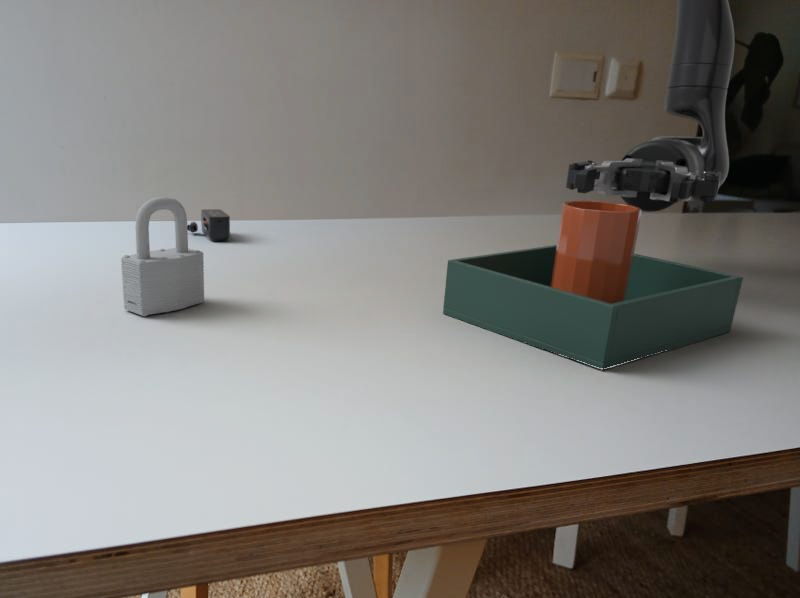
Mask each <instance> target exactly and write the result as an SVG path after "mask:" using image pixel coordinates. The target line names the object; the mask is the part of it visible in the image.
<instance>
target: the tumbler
mask: <svg viewBox="0 0 800 598" xmlns="http://www.w3.org/2000/svg"><path fill="white" fill-rule="evenodd" d="M642 212H643V211H642V209H640V208H639V207H635V206H631V205H628V204H627V203H620V202H611V201H603V200H602V201H600V200H599V201H598V200H569V201H568V200H567V201H565V202H562V207H561V214H560V221H559V228H558V235H557V241H556V245H557V247H556V254H555V261H554V268H553V275H552V282H551V287H553V288H556V289H560V290H564V291H567V292H571V293H574V294H578V295H582V296H585V297H589V298H592V299H596V300H599V301H603V302H607V303H610V304H613V303H618V302H622V301H625V300H626V294H627V289H628V283H629V278H630V272H631V267H632V261H633V256H634V254H635V250H636V244H637V240H638V233H639V228H640V223H641V217H642Z"/></svg>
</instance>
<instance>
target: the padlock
mask: <svg viewBox="0 0 800 598" xmlns="http://www.w3.org/2000/svg"><path fill="white" fill-rule="evenodd" d="M162 210H166V211H170V212H171V213H172V216H173V220H174V233H175V234H174V238H175V239H174V241H175V247H174V248H173V247H172V248H165V249H164V248H160V249H155V250H151V249H150V220H151V217H152V215H153V214H154V213H155V212H158V211H162ZM187 226H188V217H187V212H186V209H185V208H184V205H183V204H182V202H180V201H178V200H177V199H175V198H173V197H168V196H157V197H153V198H151V199H149V200H147V201H145V202H144V203H143V204H142V205H141V206H140V207H139V209H138V210H137V213H136V216H135V228H134V229H135V246H136V253H134V254H129V255H128V254H126V255H124V256H122V257H121V259H120V263H121V265H120V266H121V277H122V278H121V280H122V295H123V309H124V310H126V311H128V312H132V313H134V314H136V315H140V316H142V317H147V316H148V315H154V314H155V315H156V314H163V313H169V312H174V311H178V310H183V309H186V308H188V307H191V306H194V305H198V304H199V305H201V304H202V303H204V302H205V272H204V271H205V270H204V268H205V267H204V266H205V265H204V262H205V261H204V252H203V251H201V250H199V249H197V250H196V249H193V248H190V247H189V235H188V233H189V231H188V230H187Z"/></svg>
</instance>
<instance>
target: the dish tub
mask: <svg viewBox="0 0 800 598" xmlns="http://www.w3.org/2000/svg"><path fill="white" fill-rule="evenodd" d="M556 247H557V244H552V245H546V246H545V245H544V246H538V247H533V248H532V247H531V248H524V249H517V250H512V251H511V250H509V251H504V252H497V253H490V254H483V255H482V254H481V255H475V256H474V255H473V256H467V257H461V258H453V259H447V267H446V277H445V278H446V279H445V287H444V299H443V310H442V314H443V315H446V316H449V317H452V318H455V319H457V320H460V321H462V320H463V322H466V323H468V324H471V325H474V326H476V325H477V326H476V327H480V328H483V329H485V330H487V329H488V330H489V331H490V332H493V333H496V334H499V335H501V334H502V336H504V335H505V336H504V337H507V336H508V337H507V338H509V339H512V338H513V339H512V340H515V339H516V340H515V341H518V340H519V341H518V342H521V341H523V342H522V343H524V342H526V343H528V344H527V345H529V344H531V345H530V346H532V345H534V346H533V347H535V346H536V347H535V348H537V347H539V348H538V349H540V348H543V349H546V350H548V351H547V352H549V351H552V352H555V353H557V354H561V355H564V356H567V357H569V358H573V359H575V360H579V361H582V362H585V363H587V364H590V365H593V366H596V367H599V368H603V369H604V368H607V367H610V366H613V365H617V364H621V363H624V362H627V361H631V360H634V359H637V358H641V357H645V356H647V355H651V354H655V353H658V352H661V351H665V350H669V349H672V350H674V349H673V348H675V349H678V348H677V347H679V348H681V346H682V347H685V346H688V345H691V344H690V343H692V344H694V342H695V343H697V341H698V342H701V341H705V340H708V339H711V338H714V336H715V337H717V336H721V335H724V334H727V333H731V330H732V326H733V322H734V317H735V313H736V310H737V305H738V300H739V296H740V293H741V292H740V291H741V289H742V284H743V279H744V276H740V275H736V274H733V273H732V274H731V273H726V272H722V271H718V270H713V269H709V268H703V267H699V266H694V265H690V264H685V263H684V264H683V263H680V262H676V261H671V260H665V259H661V258H656V257H651V256H648V255H644V254H643V255H642V254H638V253H634V256H633V261H632V267H631V272H630V278H629V283H628V289H627V294H626V300H625V301H622V302H618V303H613V304H610V303H607V302H603V301H599V300H596V299H592V298H589V297H585V296H582V295H578V294H574V293H571V292H567V291H564V290H560V289H556V288H553V287H551V282H552V275H553V268H554V261H555V254H556ZM704 339H705V340H704ZM700 340H701V341H700ZM526 343H525V344H526ZM687 344H688V345H687ZM684 345H685V346H684ZM543 349H542V350H543ZM546 350H545V351H546ZM669 351H670V350H669ZM665 352H666V351H665ZM557 354H556V355H557Z"/></svg>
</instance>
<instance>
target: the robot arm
mask: <svg viewBox="0 0 800 598" xmlns="http://www.w3.org/2000/svg"><path fill="white" fill-rule="evenodd" d="M675 17H676V19H675V20H676V21H675V30H674V31H675V32H674V41H673V46H672V52H671V53H672V54H671V60H670V66H669V72H668V78H667V84H666V90H665V97H664V105H663V106H664V110H665V112H666V113H667V114H669V115H671V116H674V117H678V118H682V119H688V120H690V121H694V122H696V123H698V124H699V126H700V128H701V130H702V136H681V135H680V136H679V135H678V136H677V135H659V136H654V137H653V138H651V139H650V140H649V141H644V142H642V143H640V144H637V145H635V146H634V147H633V148H631V149H630V150H629V151H628V152H626V153H625V155H623V157H622V158H621V159H620V160H603V161H602V162H601V164H600V165H598V164H597V163H596V161H593V160H590V159H589V160H587V161H579V162H573V163H569V164H568V171H567V178H566V184H565V189H569V190H572V191H573V190H576V189H577V191H576V192H577V193H578V194H588V193H590V192H597V193H598V194H599V195H604V196H619V197H620V198H621V199H622V201H623V202H624V203H625V204H626V205H631V206H635V207H639V208H640V209H642V212H647V213H653V212H659V211H663V210H665V209H669V208H670V207H671V206H673V205H675V204H678V203H680V202H682V201H683V202H690V201H691V202H692V201H694V197H696V196H697V197H700V200H699V201H701V202H703V203H704V204H705V203H707V204H709V203H713V202H715V201H716V199H717V197H718V193H719V189H720V187H721V186H722V185H723V184H724V183H725V181H726V179H727V177H728V174H729V169H730V155H729V148H728V141H727V132H726V104H727V103H726V102H727V94H728V88H729V85H730V84H729V83H730V80H731V79H730V78H731V74H732V68H733V63H734V56H735V46H736V45H735V44H736V43H735V40H736V39H735V28H734V27H735V26H734V21H733V16H732V12H731V8H730V3H729V0H676V16H675ZM596 180H598V183H597V184H595V182H596Z"/></svg>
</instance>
